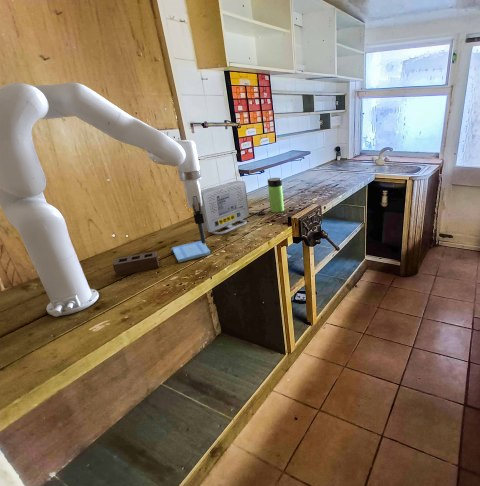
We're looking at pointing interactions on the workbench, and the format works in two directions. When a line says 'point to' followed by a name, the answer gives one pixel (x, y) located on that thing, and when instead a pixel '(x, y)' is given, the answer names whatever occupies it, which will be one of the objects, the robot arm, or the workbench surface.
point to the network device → (224, 206)
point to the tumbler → (275, 195)
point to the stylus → (202, 233)
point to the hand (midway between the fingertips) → (199, 222)
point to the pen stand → (136, 263)
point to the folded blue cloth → (190, 251)
